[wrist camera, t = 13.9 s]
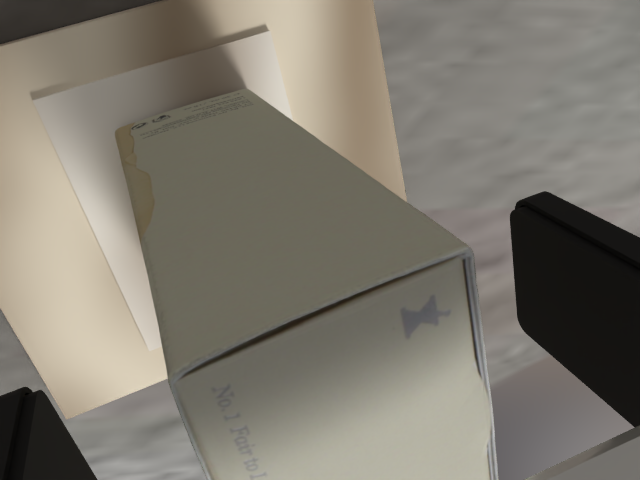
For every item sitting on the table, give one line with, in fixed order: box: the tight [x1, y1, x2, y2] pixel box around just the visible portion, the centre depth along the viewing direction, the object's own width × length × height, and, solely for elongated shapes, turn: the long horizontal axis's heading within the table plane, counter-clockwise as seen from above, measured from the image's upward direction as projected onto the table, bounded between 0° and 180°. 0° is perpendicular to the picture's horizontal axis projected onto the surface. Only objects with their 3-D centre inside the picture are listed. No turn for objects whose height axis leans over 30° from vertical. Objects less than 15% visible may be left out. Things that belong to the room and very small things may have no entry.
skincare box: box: [115, 89, 499, 480], centre depth 14 cm, size 6×4×12 cm
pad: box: [0, 0, 407, 419], centre depth 19 cm, size 14×12×1 cm
